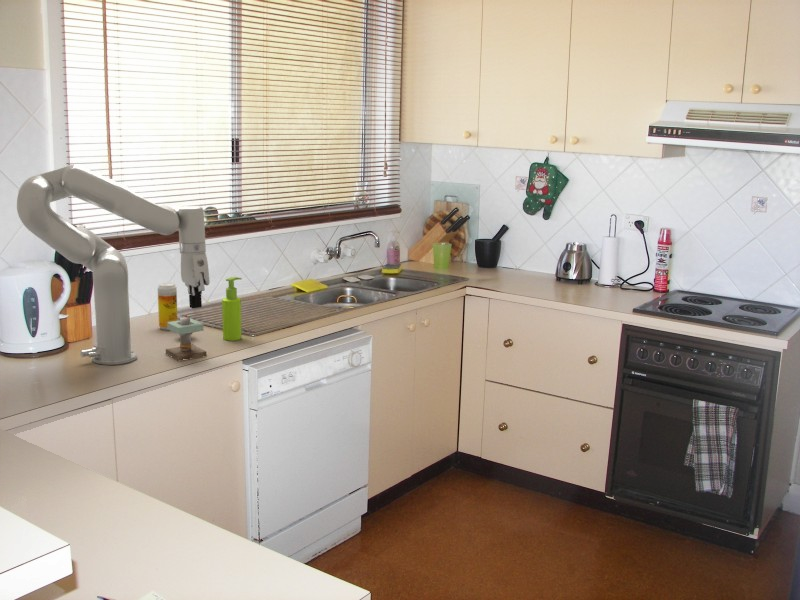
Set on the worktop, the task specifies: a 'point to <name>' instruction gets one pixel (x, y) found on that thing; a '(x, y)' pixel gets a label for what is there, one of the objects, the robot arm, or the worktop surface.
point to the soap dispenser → (231, 312)
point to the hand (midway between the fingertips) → (195, 307)
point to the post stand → (186, 346)
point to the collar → (185, 327)
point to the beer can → (167, 304)
